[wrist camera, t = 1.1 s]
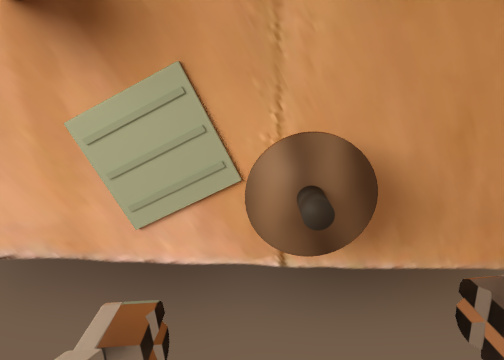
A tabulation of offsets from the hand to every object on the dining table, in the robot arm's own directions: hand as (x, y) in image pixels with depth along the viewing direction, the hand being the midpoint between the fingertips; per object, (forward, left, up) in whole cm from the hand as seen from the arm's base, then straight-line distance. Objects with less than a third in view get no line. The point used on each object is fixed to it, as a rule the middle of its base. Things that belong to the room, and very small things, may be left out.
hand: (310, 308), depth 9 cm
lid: (-1, +7, -23) cm, 24 cm away
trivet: (+14, -3, -32) cm, 35 cm away
